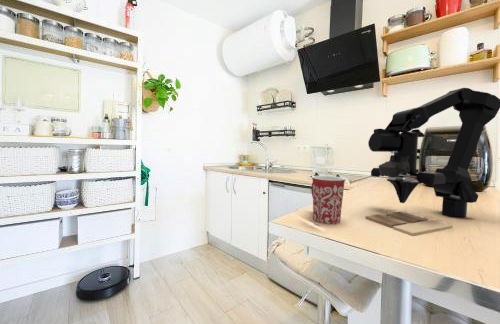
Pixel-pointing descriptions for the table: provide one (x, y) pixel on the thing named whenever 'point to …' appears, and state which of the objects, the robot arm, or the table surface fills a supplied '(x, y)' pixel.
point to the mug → (327, 198)
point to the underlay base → (422, 227)
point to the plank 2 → (406, 217)
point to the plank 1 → (385, 220)
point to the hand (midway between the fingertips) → (402, 202)
